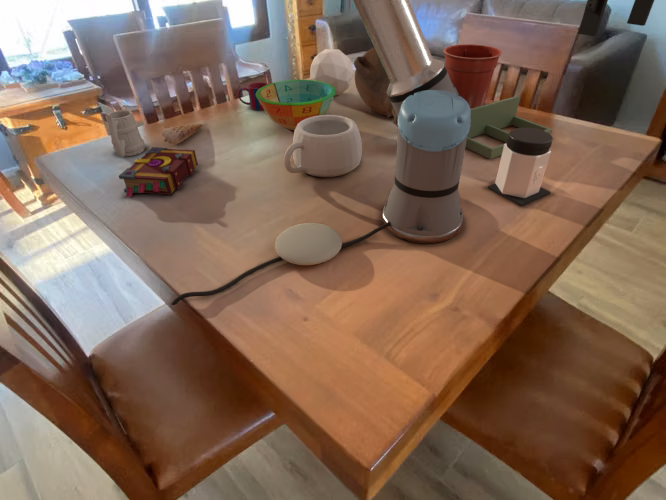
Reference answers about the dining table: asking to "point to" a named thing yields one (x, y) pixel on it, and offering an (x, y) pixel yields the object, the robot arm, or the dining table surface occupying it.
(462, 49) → the flower pot
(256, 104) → the cup
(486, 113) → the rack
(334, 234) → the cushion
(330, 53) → the geometric sphere
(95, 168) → the dining table surface
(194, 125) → the seashell
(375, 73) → the jug
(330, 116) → the mug
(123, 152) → the mug
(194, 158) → the decorative book
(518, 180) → the jar
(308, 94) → the bowl
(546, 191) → the mat
